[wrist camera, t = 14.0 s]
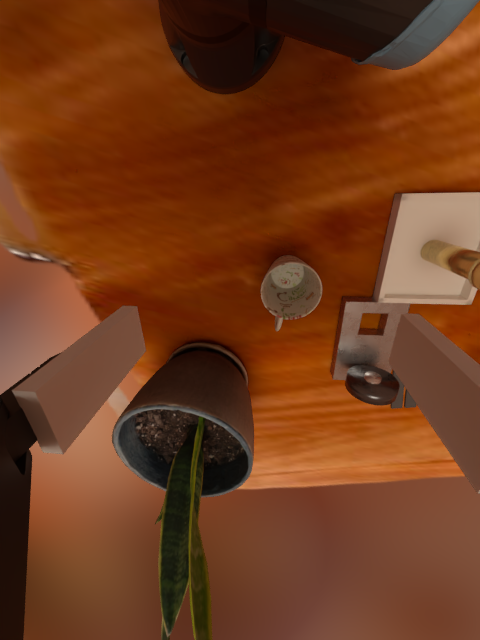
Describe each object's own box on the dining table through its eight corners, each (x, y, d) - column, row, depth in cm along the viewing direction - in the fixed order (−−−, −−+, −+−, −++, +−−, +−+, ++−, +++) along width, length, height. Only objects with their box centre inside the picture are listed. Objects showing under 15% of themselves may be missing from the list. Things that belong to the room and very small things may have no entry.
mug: (317, 251, 43) (329, 267, 34) (300, 319, 49) (306, 348, 40) (267, 244, 43) (266, 257, 34) (255, 312, 49) (252, 339, 40)
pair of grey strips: (395, 331, 47) (396, 332, 47) (423, 328, 47) (424, 329, 46) (390, 407, 55) (391, 408, 54) (414, 405, 54) (415, 407, 54)
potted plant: (212, 427, 63) (135, 733, 27) (141, 370, 58) (-69, 658, 22) (279, 382, 55) (292, 731, 19) (203, 312, 50) (32, 614, 14)
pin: (421, 236, 40) (482, 254, 28) (451, 236, 39) (526, 254, 28) (413, 264, 42) (468, 291, 30) (442, 264, 41) (509, 292, 29)
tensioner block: (342, 296, 46) (361, 324, 36) (403, 297, 45) (440, 327, 35) (330, 371, 53) (343, 412, 43) (382, 374, 52) (408, 416, 42)
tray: (394, 193, 38) (402, 193, 36) (500, 191, 37) (515, 191, 34) (372, 297, 45) (377, 302, 43) (460, 299, 44) (471, 304, 41)
